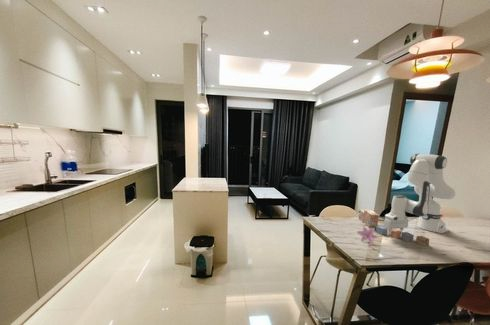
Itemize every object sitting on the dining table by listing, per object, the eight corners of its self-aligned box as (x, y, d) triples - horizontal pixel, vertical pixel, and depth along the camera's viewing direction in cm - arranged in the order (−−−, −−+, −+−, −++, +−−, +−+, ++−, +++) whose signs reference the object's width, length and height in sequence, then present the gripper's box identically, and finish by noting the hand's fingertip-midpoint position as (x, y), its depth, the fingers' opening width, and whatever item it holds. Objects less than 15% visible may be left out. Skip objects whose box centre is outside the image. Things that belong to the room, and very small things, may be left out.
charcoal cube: (405, 238, 151) (406, 231, 151) (412, 241, 146) (413, 234, 146) (400, 238, 150) (401, 232, 149) (407, 241, 145) (408, 235, 144)
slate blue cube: (381, 231, 161) (381, 225, 161) (386, 234, 156) (387, 228, 156) (376, 232, 160) (376, 226, 159) (381, 234, 155) (382, 228, 155)
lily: (353, 238, 149) (355, 230, 144) (364, 230, 153) (366, 222, 148) (368, 250, 140) (370, 241, 135) (380, 242, 143) (382, 233, 138)
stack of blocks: (358, 218, 188) (359, 206, 187) (365, 219, 187) (366, 206, 186) (369, 228, 167) (370, 214, 166) (377, 228, 166) (378, 214, 165)
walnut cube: (420, 242, 146) (421, 235, 145) (428, 245, 141) (429, 238, 140) (415, 242, 144) (416, 236, 144) (423, 246, 139) (424, 239, 139)
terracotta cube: (394, 235, 156) (394, 228, 155) (400, 238, 151) (401, 231, 150) (389, 235, 154) (389, 229, 154) (395, 238, 150) (396, 232, 149)
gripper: (403, 214, 157) (401, 230, 158) (383, 215, 151) (381, 232, 153) (411, 216, 151) (409, 234, 152) (391, 218, 145) (389, 236, 147)
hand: (395, 233), depth 152 cm, fingers open, 8 cm apart
